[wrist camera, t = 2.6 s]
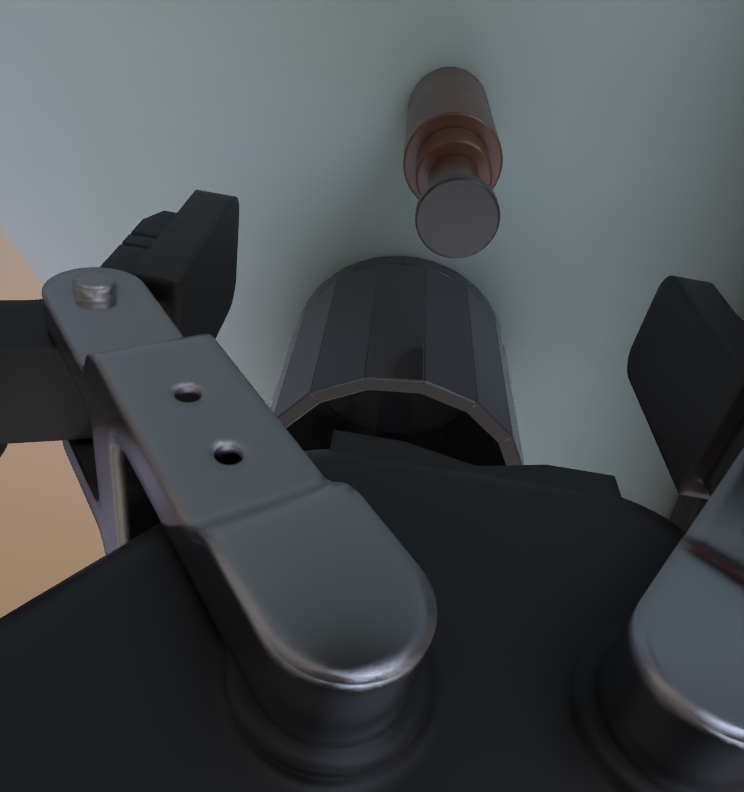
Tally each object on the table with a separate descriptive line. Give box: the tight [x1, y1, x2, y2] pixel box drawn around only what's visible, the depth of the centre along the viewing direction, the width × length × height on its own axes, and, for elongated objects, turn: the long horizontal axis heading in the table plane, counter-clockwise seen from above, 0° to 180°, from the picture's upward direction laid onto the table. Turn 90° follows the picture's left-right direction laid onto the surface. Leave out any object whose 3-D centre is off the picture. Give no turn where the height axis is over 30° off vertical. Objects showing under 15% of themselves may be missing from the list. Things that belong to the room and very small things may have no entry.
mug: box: [270, 257, 524, 466], centre depth 27 cm, size 12×9×8 cm
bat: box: [403, 67, 503, 258], centre depth 19 cm, size 3×3×10 cm
